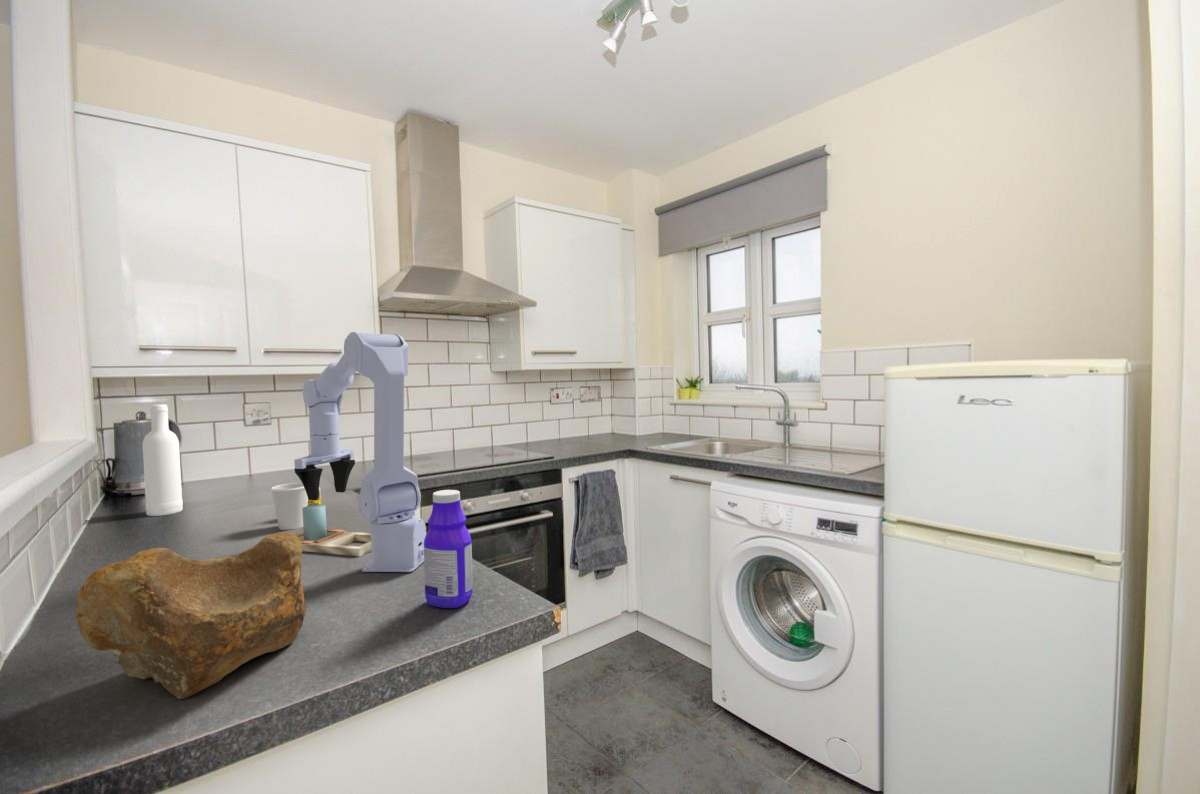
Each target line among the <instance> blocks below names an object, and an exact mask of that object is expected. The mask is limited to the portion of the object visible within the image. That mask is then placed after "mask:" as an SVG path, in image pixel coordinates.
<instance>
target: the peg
mask: <svg viewBox="0 0 1200 794" xmlns="http://www.w3.org/2000/svg"><path fill="white" fill-rule="evenodd" d="M302 509H303V527H302V529H303V531H304V540H306V541H317V540H319V539H322V538H325V537H327V529H328V528H327V512H326V511H327V510H326V509H327V507H326V504H321V505H310V506H306V507H303V508H302ZM303 531H302V532H303Z"/></svg>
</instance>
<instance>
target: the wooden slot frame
mask: <svg viewBox="0 0 1200 794" xmlns="http://www.w3.org/2000/svg"><path fill="white" fill-rule="evenodd" d="M294 535H296V536H297V537H298V538H299V539H300V540H301V542H302V547H303V551H302V552H309V553H321V554H329V555H340V556H341V555H342V556H350V557H351V556H352V557H362V556H364V555H366V554H368V553H371V532H370V533H369V532H360V531H359V532H358V531H346V530H345V529H339V528H337V529H336V528H327V537H325V538H322V539H319V540H317V541H306V540H304V531H301V532H298V533H295V534H294ZM354 542H365V543H363V544H360V545H358V546H355V545H348V544H351V543H354Z"/></svg>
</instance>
